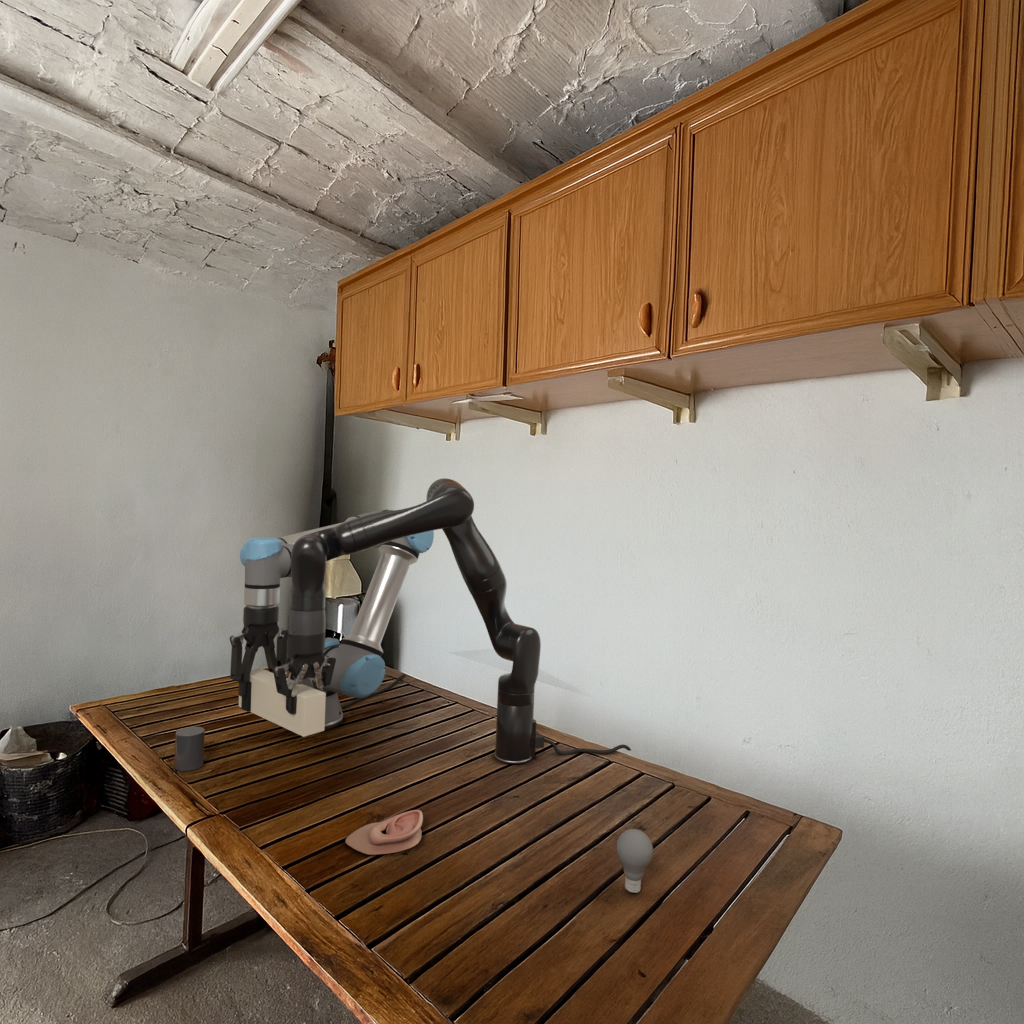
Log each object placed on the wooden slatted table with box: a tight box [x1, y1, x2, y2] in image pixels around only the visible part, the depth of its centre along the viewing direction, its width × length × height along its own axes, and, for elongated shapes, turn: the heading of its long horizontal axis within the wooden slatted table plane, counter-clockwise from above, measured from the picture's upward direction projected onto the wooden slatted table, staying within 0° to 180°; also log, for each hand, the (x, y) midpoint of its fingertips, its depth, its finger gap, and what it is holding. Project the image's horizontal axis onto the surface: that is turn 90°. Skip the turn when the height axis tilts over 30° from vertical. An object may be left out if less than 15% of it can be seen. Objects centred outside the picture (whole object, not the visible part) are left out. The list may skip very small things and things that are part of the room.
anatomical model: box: [344, 809, 424, 856], centre depth 118 cm, size 13×4×12 cm
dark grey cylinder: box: [173, 726, 206, 772], centre depth 146 cm, size 6×6×8 cm
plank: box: [238, 667, 326, 738], centre depth 139 cm, size 26×5×8 cm, turn 51°
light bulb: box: [615, 828, 654, 894], centre depth 106 cm, size 6×6×10 cm
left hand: (257, 706), depth 145 cm, fingers closed on plank, 5 cm apart
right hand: (303, 709), depth 133 cm, fingers closed on plank, 5 cm apart
